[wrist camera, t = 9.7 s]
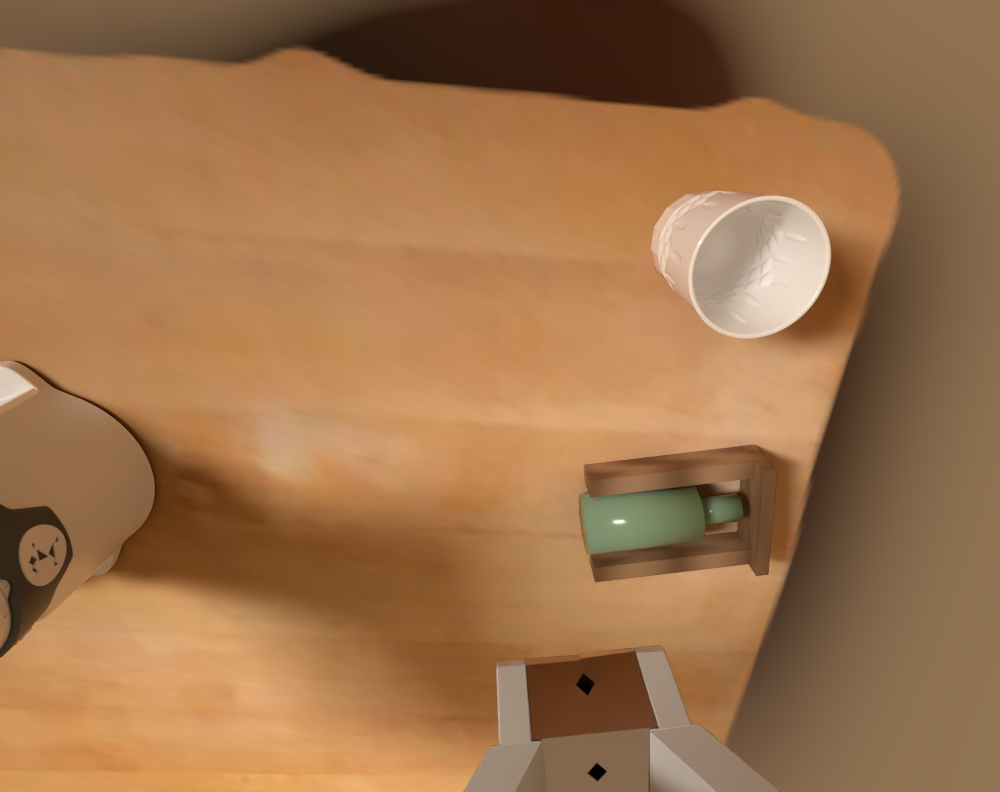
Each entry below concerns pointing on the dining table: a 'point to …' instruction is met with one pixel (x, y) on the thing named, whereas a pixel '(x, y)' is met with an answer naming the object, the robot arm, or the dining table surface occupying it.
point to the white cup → (743, 259)
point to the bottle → (652, 518)
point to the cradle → (686, 471)
